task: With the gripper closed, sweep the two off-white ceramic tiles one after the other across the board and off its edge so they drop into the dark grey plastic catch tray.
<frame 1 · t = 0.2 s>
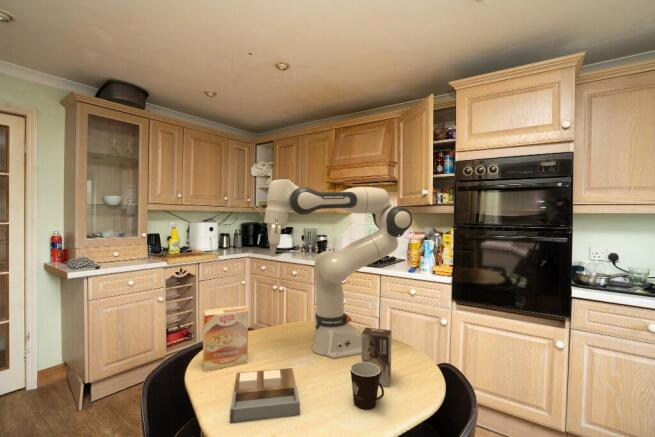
hand: (271, 254, 122), 38 cm above the table, tool pointing down, fingers open, 8 cm apart
catch tray: (265, 409, 87), on the table
tile b: (248, 380, 94), point 4 cm above the table, touching board
coffee mug: (365, 407, 89), on the table
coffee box: (376, 380, 104), on the table
tile a: (272, 378, 96), point 4 cm above the table, touching board
coffeecake box: (225, 363, 114), on the table
board: (265, 389, 97), on the table
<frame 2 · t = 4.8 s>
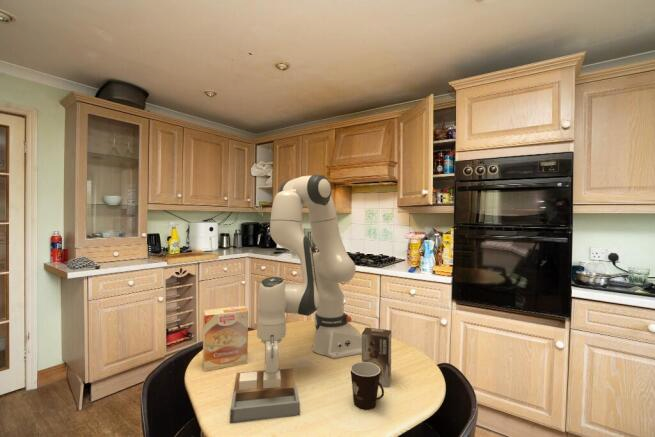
hand: (271, 373, 99), 4 cm above the table, tool pointing down, fingers closed
tile a: (271, 379, 95), point 4 cm above the table, touching board, gripper
everything else where it was.
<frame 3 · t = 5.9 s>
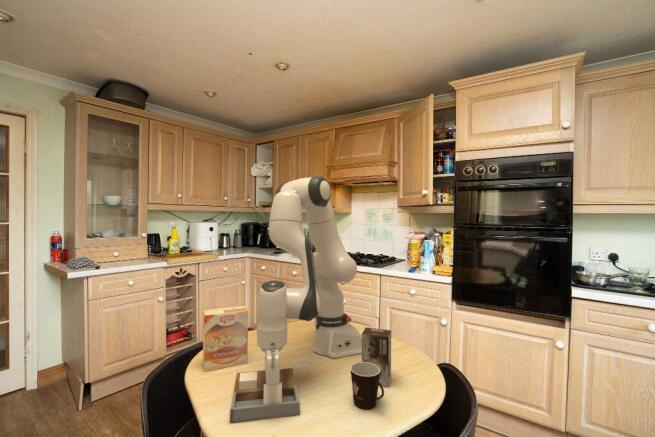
hand: (271, 384, 93), 4 cm above the table, tool pointing down, fingers closed
tile a: (272, 393, 89), point 3 cm above the table, tilted 60°, touching catch tray
everything else where it was.
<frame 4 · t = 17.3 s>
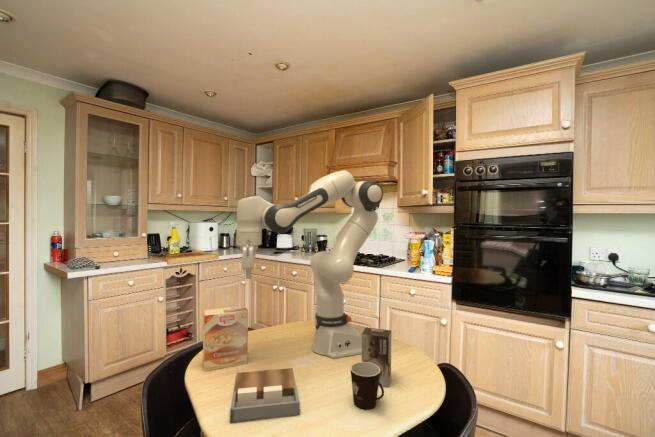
hand: (248, 278, 114), 31 cm above the table, tool pointing down, fingers closed
tile b: (247, 399, 87), point 3 cm above the table, tilted 90°, touching catch tray
tile a: (272, 397, 88), point 3 cm above the table, tilted 90°, touching catch tray
everything else where it was.
at the end: tile a inside the target area (1.8 cm from its centre), point 3.1 cm above the table; tile b inside the target area (5.3 cm from its centre), point 3.1 cm above the table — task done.
